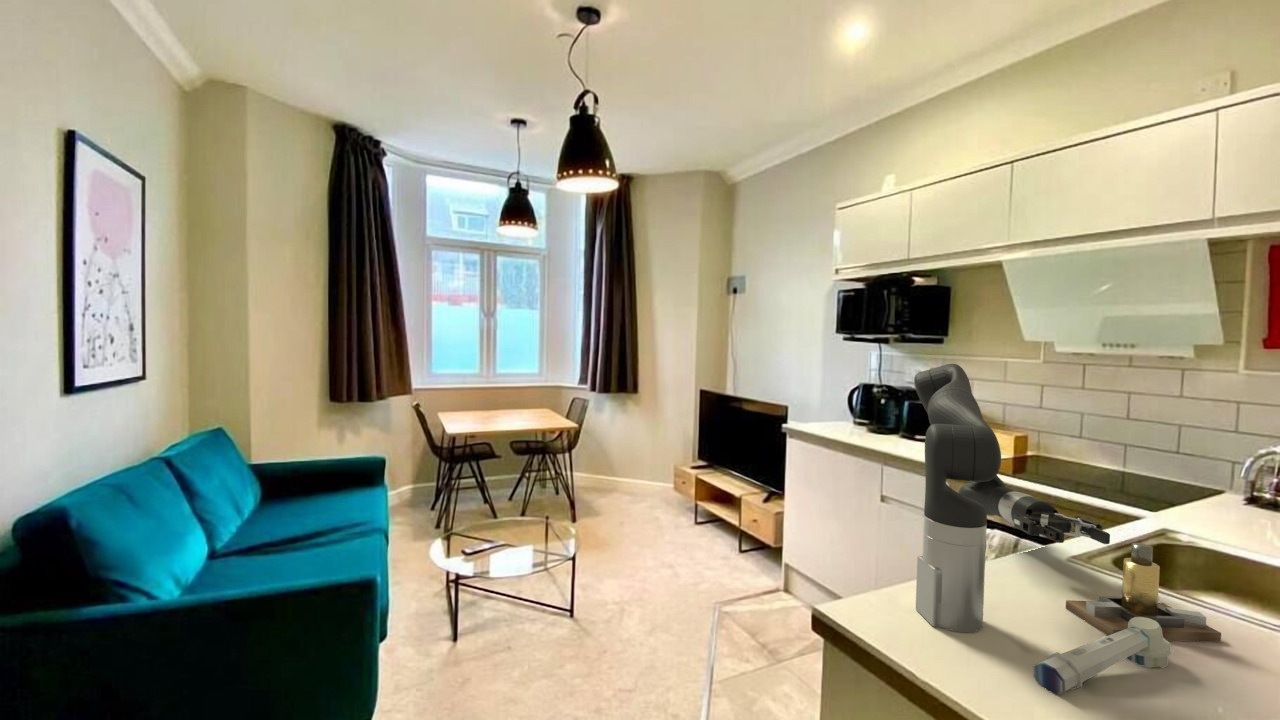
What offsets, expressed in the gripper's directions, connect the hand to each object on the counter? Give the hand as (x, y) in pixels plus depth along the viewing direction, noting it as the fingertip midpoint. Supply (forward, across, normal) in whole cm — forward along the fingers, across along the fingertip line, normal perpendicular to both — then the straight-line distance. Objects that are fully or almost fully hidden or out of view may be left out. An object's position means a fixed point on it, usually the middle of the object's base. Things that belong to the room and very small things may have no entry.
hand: (1085, 538), depth 104 cm
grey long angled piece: (+26, -17, +11) cm, 33 cm away
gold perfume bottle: (+12, 0, +9) cm, 15 cm away
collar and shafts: (+12, 0, +9) cm, 15 cm away
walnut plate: (+12, 0, +10) cm, 16 cm away
